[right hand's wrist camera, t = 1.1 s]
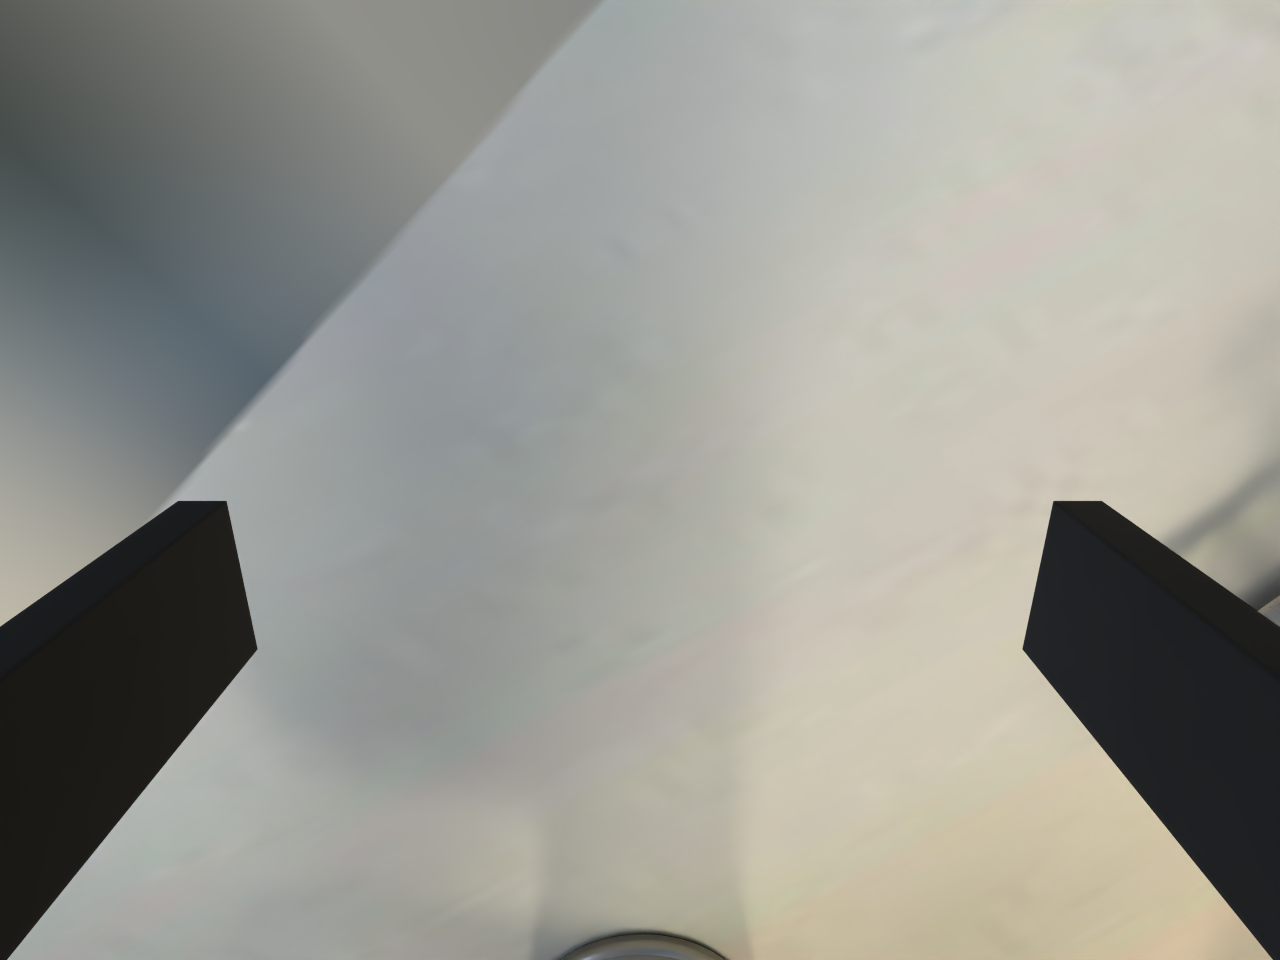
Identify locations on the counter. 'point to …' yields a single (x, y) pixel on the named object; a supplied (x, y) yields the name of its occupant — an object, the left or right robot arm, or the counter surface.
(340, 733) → the counter surface
